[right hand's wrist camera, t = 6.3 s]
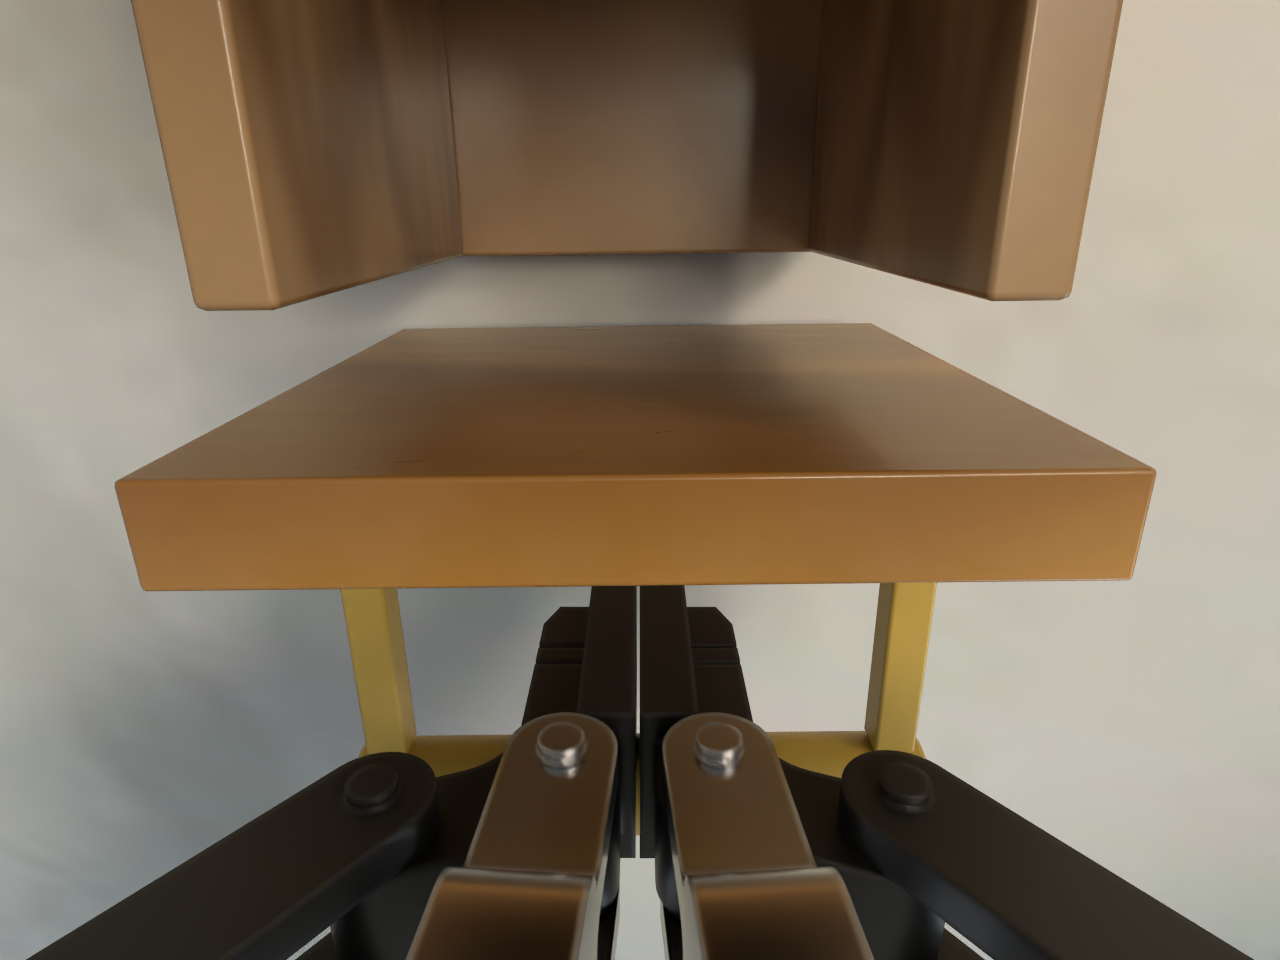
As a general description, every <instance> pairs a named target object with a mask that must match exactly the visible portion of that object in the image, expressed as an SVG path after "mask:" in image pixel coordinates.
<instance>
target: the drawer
mask: <svg viewBox="0 0 1280 960" xmlns="http://www.w3.org/2000/svg"><path fill="white" fill-rule="evenodd" d="M131 2H132V7H133V12H134V17H135V22H136V26H137V31H138V36H139V41H140V46H141V50H142V55H143V60H144V65H145V69H146V74H147V79H148V84H149V89H150V93H151V98H152V103H153V108H154V113H155V117H156V122H157V127H158V132H159V137H160V141H161V146H162V151H163V156H164V160H165V165H166V170H167V175H168V180H169V184H170V189H171V194H172V199H173V204H174V208H175V213H176V218H177V223H178V228H179V232H180V237H181V242H182V247H183V251H184V256H185V261H186V266H187V271H188V275H189V280H190V285H191V290H192V295H193V299H194V303H195V304H196V306H197V308H200V309H203V310H206V311H232V310H275V309H278V308H282V307H285V306H289V305H292V304H296V303H299V302H303V301H306V300H310V299H313V298H317V297H320V296H324V295H327V294H330V293H334V292H337V291H341V290H344V289H348V288H351V287H355V286H358V285H362V284H365V283H369V282H372V281H376V280H379V279H383V278H386V277H390V276H393V275H397V274H400V273H404V272H407V271H411V270H414V269H417V268H421V267H424V266H428V265H431V264H435V263H438V262H442V261H445V260H449V259H452V258H456V257H459V256H505V255H583V254H662V253H740V252H814V253H818V254H821V255H825V256H829V257H832V258H836V259H840V260H843V261H847V262H851V263H854V264H858V265H862V266H865V267H869V268H873V269H876V270H880V271H884V272H887V273H891V274H895V275H898V276H902V277H906V278H909V279H913V280H917V281H920V282H924V283H928V284H931V285H935V286H939V287H942V288H946V289H950V290H953V291H957V292H960V293H964V294H968V295H971V296H975V297H979V298H982V299H986V300H990V301H1033V300H1061V299H1064V298H1067V297H1069V295H1070V293H1071V290H1072V285H1073V279H1074V274H1075V268H1076V262H1077V257H1078V251H1079V245H1080V240H1081V234H1082V228H1083V223H1084V217H1085V212H1086V206H1087V200H1088V195H1089V189H1090V183H1091V178H1092V172H1093V167H1094V161H1095V155H1096V150H1097V144H1098V138H1099V133H1100V127H1101V121H1102V116H1103V110H1104V105H1105V99H1106V93H1107V88H1108V82H1109V76H1110V71H1111V65H1112V60H1113V54H1114V48H1115V43H1116V37H1117V31H1118V26H1119V20H1120V14H1121V9H1122V3H1123V0H131ZM1155 478H1156V470H1155V469H1154V468H1152V467H1150V466H1148V465H1146V464H1144V463H1142V462H1140V461H1138V460H1136V459H1134V458H1133V457H1131V456H1129V455H1127V454H1125V453H1123V452H1121V451H1119V450H1117V449H1115V448H1113V447H1111V446H1109V445H1107V444H1105V443H1103V442H1101V441H1099V440H1097V439H1095V438H1094V437H1092V436H1090V435H1088V434H1086V433H1084V432H1082V431H1080V430H1078V429H1076V428H1074V427H1072V426H1070V425H1068V424H1066V423H1064V422H1062V421H1060V420H1058V419H1056V418H1055V417H1053V416H1051V415H1049V414H1047V413H1045V412H1043V411H1041V410H1039V409H1037V408H1035V407H1033V406H1031V405H1029V404H1027V403H1025V402H1023V401H1021V400H1019V399H1017V398H1015V397H1014V396H1012V395H1010V394H1008V393H1006V392H1004V391H1002V390H1000V389H998V388H996V387H994V386H992V385H990V384H988V383H986V382H984V381H982V380H980V379H978V378H976V377H975V376H973V375H971V374H969V373H967V372H965V371H963V370H961V369H959V368H957V367H955V366H953V365H951V364H949V363H947V362H945V361H943V360H941V359H939V358H937V357H936V356H934V355H932V354H930V353H928V352H926V351H924V350H922V349H920V348H918V347H916V346H914V345H912V344H910V343H908V342H906V341H904V340H902V339H900V338H898V337H896V336H895V335H893V334H891V333H889V332H887V331H885V330H883V329H881V328H879V327H877V326H875V325H873V324H871V323H858V324H778V325H698V326H618V327H537V328H457V329H403V330H401V331H399V332H397V333H396V334H394V335H392V336H390V337H388V338H386V339H384V340H382V341H380V342H379V343H377V344H375V345H373V346H371V347H369V348H367V349H365V350H363V351H362V352H360V353H358V354H356V355H354V356H352V357H350V358H348V359H346V360H344V361H343V362H341V363H339V364H337V365H335V366H333V367H331V368H329V369H327V370H326V371H324V372H322V373H320V374H318V375H316V376H314V377H312V378H310V379H308V380H307V381H305V382H303V383H301V384H299V385H297V386H295V387H293V388H291V389H290V390H288V391H286V392H284V393H282V394H280V395H278V396H276V397H274V398H273V399H271V400H269V401H267V402H265V403H263V404H261V405H259V406H257V407H255V408H254V409H252V410H250V411H248V412H246V413H244V414H242V415H240V416H238V417H237V418H235V419H233V420H231V421H229V422H227V423H225V424H223V425H221V426H219V427H218V428H216V429H214V430H212V431H210V432H208V433H206V434H204V435H202V436H201V437H199V438H197V439H195V440H193V441H191V442H189V443H187V444H185V445H184V446H182V447H180V448H178V449H176V450H174V451H172V452H170V453H168V454H166V455H165V456H163V457H161V458H159V459H157V460H155V461H153V462H151V463H149V464H148V465H146V466H144V467H142V468H140V469H138V470H136V471H134V472H132V473H130V474H129V475H127V476H125V477H123V478H121V479H119V480H117V481H116V482H115V490H116V494H117V497H118V501H119V505H120V509H121V512H122V516H123V520H124V524H125V527H126V531H127V535H128V539H129V542H130V546H131V550H132V554H133V558H134V561H135V565H136V569H137V573H138V576H139V580H140V584H141V588H142V589H143V590H145V591H205V590H294V589H340V590H341V596H342V602H343V608H344V614H345V620H346V626H347V632H348V638H349V644H350V650H351V656H352V663H353V669H354V675H355V681H356V687H357V693H358V699H359V705H360V711H361V717H362V723H363V729H364V735H365V741H366V744H365V745H364V747H363V748H362V750H361V753H360V755H359V758H360V757H363V756H366V755H369V754H375V753H380V752H402V753H408V754H412V755H414V756H417V757H419V758H421V759H423V760H424V761H425V762H426V763H428V764H429V765H430V767H431V768H432V770H433V771H434V774H435V777H439V776H443V775H447V774H452V773H456V772H460V771H464V770H467V769H471V768H474V767H477V766H479V765H482V764H484V763H486V762H488V761H490V760H492V759H494V758H495V757H497V756H498V755H500V754H501V753H503V752H504V750H505V747H506V744H507V742H508V740H509V738H510V737H511V736H512V735H440V736H415V735H416V727H415V719H414V712H413V705H412V697H411V690H410V683H409V675H408V668H407V661H406V654H405V646H404V639H403V632H402V624H401V617H400V610H399V602H398V595H397V588H471V587H560V586H649V585H738V584H826V583H880V589H879V598H878V607H877V617H876V626H875V635H874V644H873V654H872V663H871V672H870V682H869V691H868V700H867V710H866V719H865V731H818V732H766V733H767V734H768V736H769V737H770V738H771V740H772V742H773V744H774V747H775V750H776V752H777V755H778V757H779V758H780V759H782V760H784V761H786V762H788V763H790V764H792V765H795V766H797V767H800V768H803V769H806V770H810V771H814V772H818V773H822V774H826V775H830V776H834V777H838V778H842V773H843V771H844V768H845V767H846V765H847V764H848V763H849V762H850V761H851V760H852V759H854V758H855V757H857V756H859V755H861V754H864V753H867V752H871V751H877V750H894V751H901V752H906V753H910V754H913V755H917V756H920V757H922V758H924V759H926V758H925V755H924V752H923V750H922V747H921V745H920V743H919V741H918V740H917V738H916V732H917V724H918V717H919V710H920V702H921V695H922V688H923V680H924V673H925V665H926V658H927V651H928V643H929V636H930V629H931V621H932V614H933V607H934V599H935V592H936V584H937V582H1004V581H1093V580H1129V579H1131V578H1132V576H1133V572H1134V568H1135V563H1136V559H1137V555H1138V550H1139V546H1140V542H1141V538H1142V533H1143V529H1144V525H1145V520H1146V516H1147V512H1148V508H1149V503H1150V499H1151V495H1152V491H1153V486H1154V482H1155ZM636 835H640V733H636Z"/></svg>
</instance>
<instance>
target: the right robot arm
mask: <svg viewBox="0 0 1280 960" xmlns="http://www.w3.org/2000/svg"><path fill="white" fill-rule="evenodd" d="M636 707H637V586H592V589H591V597H590V606H589V607H560V608H559V609H558V610H557V611H556V612H555V613H554V614H553V615H552V616H551V617H550V618H549V619H548V620H547V621H546V622H545V623H544V626H543V631H542V635H541V640H540V647H539V649H538V653H537V658H536V664H535V667H534V671H533V676H532V680H531V685H530V689H529V694H528V698H527V703H526V707H525V712H524V716H523V721H522V725H521V727H520V728H518V729H517V730H516V731H515V732H514V733H513V735H512V736H511V737H510V738H509V740H508V742H507V744H506V747H505V750H504V752H503V753H501V754H500V755H498V756H497V757H495V758H494V759H492V760H490V761H488V762H486V763H484V764H482V765H479V766H477V767H474V768H471V769H467V770H464V771H460V772H456V773H452V774H447V775H443V776H439V777H435V774H434V771H433V770H432V768H431V767H430V765H429V764H428V763H426V762H425V761H424V760H423V759H421V758H419V757H417V756H414V755H412V754H408V753H402V752H380V753H375V754H369V755H366V756H363V757H360V758H357V759H355V760H352V761H350V762H348V763H346V764H344V765H342V766H340V767H339V768H337V769H335V770H334V771H332V772H331V773H329V774H327V775H326V776H324V777H322V778H321V779H319V780H318V781H316V782H314V783H313V784H311V785H309V786H308V787H306V788H305V789H303V790H301V791H300V792H298V793H296V794H295V795H293V796H291V797H290V798H288V799H287V800H285V801H283V802H282V803H280V804H278V805H277V806H275V807H274V808H272V809H270V810H269V811H267V812H265V813H264V814H262V815H261V816H259V817H257V818H256V819H254V820H252V821H251V822H249V823H248V824H246V825H244V826H243V827H241V828H239V829H238V830H236V831H235V832H233V833H231V834H230V835H228V836H226V837H225V838H223V839H222V840H220V841H218V842H217V843H215V844H213V845H212V846H210V847H209V848H207V849H205V850H204V851H202V852H200V853H199V854H197V855H196V856H194V857H192V858H191V859H189V860H187V861H186V862H184V863H183V864H181V865H179V866H178V867H176V868H174V869H173V870H171V871H170V872H168V873H166V874H165V875H163V876H161V877H160V878H158V879H157V880H155V881H153V882H152V883H150V884H148V885H147V886H145V887H143V888H142V889H140V890H139V891H137V892H135V893H134V894H132V895H130V896H129V897H127V898H126V899H124V900H122V901H121V902H119V903H117V904H116V905H114V906H113V907H111V908H109V909H108V910H106V911H104V912H103V913H101V914H100V915H98V916H96V917H95V918H93V919H91V920H90V921H88V922H87V923H85V924H83V925H82V926H80V927H78V928H77V929H75V930H74V931H72V932H70V933H69V934H67V935H65V936H64V937H62V938H61V939H59V940H57V941H56V942H54V943H52V944H51V945H49V946H48V947H46V948H44V949H43V950H41V951H39V952H38V953H36V954H35V955H33V956H31V957H30V958H28V959H26V960H286V959H288V958H289V957H290V956H292V955H293V954H294V953H295V952H297V951H298V950H299V949H301V948H302V947H303V946H304V945H306V944H307V943H308V942H310V941H311V940H312V939H313V938H315V937H316V936H317V935H319V934H320V933H321V932H322V931H324V930H325V929H326V928H328V927H329V926H330V928H331V932H330V933H329V934H327V935H326V936H325V937H324V938H322V939H321V940H320V941H318V942H317V943H316V944H315V945H313V946H312V947H311V948H310V949H308V950H307V951H306V952H304V953H303V954H302V955H301V956H299V957H298V958H297V959H296V960H615V952H616V943H617V935H618V926H619V917H620V895H619V878H620V858H635V845H636ZM640 858H655V882H656V890H657V893H658V896H659V898H660V917H661V925H662V934H663V943H664V952H665V960H984V959H983V958H982V957H981V956H979V955H978V954H977V953H976V952H974V951H973V950H972V949H970V948H969V947H968V946H967V945H965V944H964V943H963V942H962V941H960V940H959V939H958V938H956V937H955V936H954V935H953V934H951V933H950V932H949V931H947V930H946V929H945V928H944V925H945V922H946V923H947V924H949V925H950V926H951V927H952V928H954V929H955V930H956V931H958V932H959V933H960V934H961V935H963V936H964V937H965V938H967V939H968V940H969V941H970V942H972V943H973V944H974V945H976V946H977V947H978V948H979V949H981V950H982V951H983V952H985V953H986V954H987V955H988V956H990V957H991V958H992V959H994V960H1254V959H1252V958H1250V957H1249V956H1247V955H1245V954H1244V953H1242V952H1241V951H1239V950H1237V949H1236V948H1234V947H1232V946H1231V945H1229V944H1228V943H1226V942H1224V941H1223V940H1221V939H1219V938H1218V937H1216V936H1215V935H1213V934H1211V933H1210V932H1208V931H1206V930H1205V929H1203V928H1202V927H1200V926H1198V925H1197V924H1195V923H1193V922H1192V921H1190V920H1189V919H1187V918H1185V917H1184V916H1182V915H1180V914H1179V913H1177V912H1176V911H1174V910H1172V909H1171V908H1169V907H1167V906H1166V905H1164V904H1163V903H1161V902H1159V901H1158V900H1156V899H1154V898H1153V897H1151V896H1150V895H1148V894H1146V893H1145V892H1143V891H1141V890H1140V889H1138V888H1136V887H1135V886H1133V885H1132V884H1130V883H1128V882H1127V881H1125V880H1123V879H1122V878H1120V877H1119V876H1117V875H1115V874H1114V873H1112V872H1110V871H1109V870H1107V869H1106V868H1104V867H1102V866H1101V865H1099V864H1097V863H1096V862H1094V861H1093V860H1091V859H1089V858H1088V857H1086V856H1084V855H1083V854H1081V853H1080V852H1078V851H1076V850H1075V849H1073V848H1071V847H1070V846H1068V845H1067V844H1065V843H1063V842H1062V841H1060V840H1058V839H1057V838H1055V837H1054V836H1052V835H1050V834H1049V833H1047V832H1045V831H1044V830H1042V829H1041V828H1039V827H1037V826H1036V825H1034V824H1032V823H1031V822H1029V821H1028V820H1026V819H1024V818H1023V817H1021V816H1019V815H1018V814H1016V813H1015V812H1013V811H1011V810H1010V809H1008V808H1006V807H1005V806H1003V805H1002V804H1000V803H998V802H997V801H995V800H993V799H992V798H990V797H989V796H987V795H985V794H984V793H982V792H980V791H979V790H977V789H975V788H974V787H972V786H971V785H969V784H967V783H966V782H964V781H962V780H961V779H959V778H958V777H956V776H954V775H953V774H951V773H949V772H948V771H946V770H945V769H943V768H941V767H940V766H938V765H936V764H934V763H933V762H931V761H929V760H927V759H924V758H922V757H920V756H917V755H913V754H910V753H906V752H901V751H894V750H877V751H871V752H867V753H864V754H861V755H859V756H857V757H855V758H854V759H852V760H851V761H850V762H849V763H848V764H847V765H846V767H845V768H844V771H843V773H842V778H838V777H834V776H830V775H826V774H822V773H818V772H814V771H810V770H806V769H803V768H800V767H797V766H795V765H792V764H790V763H788V762H786V761H784V760H782V759H780V758H779V757H778V755H777V752H776V750H775V747H774V744H773V742H772V740H771V738H770V737H769V736H768V734H767V733H766V732H765V731H764V730H763V729H762V728H761V727H759V726H758V725H756V724H755V723H753V720H752V715H751V710H750V706H749V701H748V696H747V692H746V687H745V682H744V678H743V673H742V668H741V665H740V659H739V654H738V649H737V648H736V640H735V635H734V631H733V626H732V624H731V622H730V621H729V620H728V619H727V618H726V617H725V616H724V615H723V614H722V613H721V612H720V611H719V610H718V609H717V608H716V607H687V606H686V597H685V588H684V585H649V586H640Z"/></svg>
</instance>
